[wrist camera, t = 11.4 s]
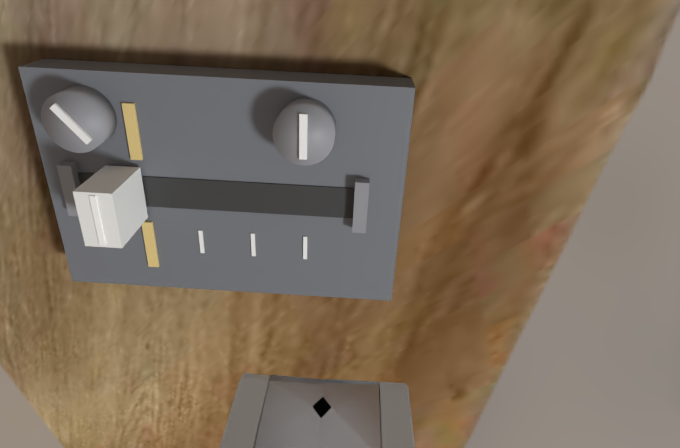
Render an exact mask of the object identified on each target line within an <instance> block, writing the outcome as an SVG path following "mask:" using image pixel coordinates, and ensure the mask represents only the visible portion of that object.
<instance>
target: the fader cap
mask: <svg viewBox="0 0 680 448" xmlns="http://www.w3.org/2000/svg"><path fill="white" fill-rule="evenodd" d="M73 196H74V200H75V204H76V208H77V213H78V217H79V221H80V226H81V230H82V234H83V239H84V243H85V246H92V247H109V248H123V247H124V246H125V244H126V243H127V242H128V241H129V240H130V238H131V237H132V236H133V235H134V234H135V232H136V231H137V230H138V229H139V228H140V226H141V225H142V224H143V223H144V222H145V220H146V219H147V218H148V214H147V207H146V201H145V195H144V188H143V182H142V175H141V169H140V167H127V166H109V165H105V166H104V167H103V168H101V169H100V170H99V171H98V172H96V173H95V174H94V175H93V176H91V177H90V178H89V179H88V180H86V181H85V182H84V183H83V184H81V185H80V186H79V187H78V188H76V189H75V190H74V191H73Z"/></svg>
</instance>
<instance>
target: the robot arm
mask: <svg viewBox="0 0 680 448" xmlns="http://www.w3.org/2000/svg"><path fill="white" fill-rule="evenodd" d="M220 448H415V446H414V437H413V427H412V418H411V408H410V399H409V390H408V386H407V385H406V383H390V382H379V383H378V382H371V381H352V380H333V379H325V380H324V379H312V378H301V377H289V376H278V375H260V374H249V373H244V374H243V376H242V377H241V379H240V381H239V384H238V388H237V391H236V395H235V398H234V401H233V405H232V408H231V411H230V415H229V418H228V421H227V425H226V428H225V432H224V435H223V438H222V442H221V445H220Z"/></svg>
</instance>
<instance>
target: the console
mask: <svg viewBox="0 0 680 448" xmlns="http://www.w3.org/2000/svg"><path fill="white" fill-rule="evenodd" d="M18 69H19V72H20V76H21V80H22V84H23V88H24V92H25V96H26V100H27V104H28V108H29V112H30V116H31V120H32V123H33V127H34V131H35V135H36V139H37V143H38V147H39V151H40V155H41V159H42V163H43V167H44V170H45V174H46V178H47V182H48V186H49V190H50V194H51V198H52V202H53V206H54V210H55V214H56V218H57V221H58V225H59V229H60V233H61V237H62V241H63V245H64V249H65V253H66V257H67V261H68V265H69V269H70V272H71V276H72V280H73V281H80V282H96V283H113V284H129V285H145V286H162V287H178V288H195V289H211V290H227V291H244V292H260V293H276V294H293V295H309V296H325V297H342V298H358V299H374V300H391V298H392V289H393V280H394V272H395V263H396V254H397V245H398V236H399V228H400V219H401V210H402V201H403V192H404V183H405V175H406V166H407V157H408V148H409V139H410V130H411V122H412V113H413V104H414V95H415V86H414V83H413V81H412V78H402V77H384V76H365V75H346V74H327V73H308V72H289V71H270V70H252V69H233V68H214V67H195V66H176V65H157V64H139V63H120V62H101V61H82V60H63V59H41V60H38V61H34V62H31V63H28V64H25V65H22V66H19V67H18ZM105 165H109V166H127V167H140V169H141V175H142V182H143V188H144V195H145V201H146V207H147V214H148V218H147V219H146V220H145V222H144V223H143V224H142V225H141V226H140V228H139V229H138V230H137V231H136V232H135V234H134V235H133V236H132V237H131V238H130V240H129V241H128V242H127V243H126V244H125V246H124V247H123V248H109V247H92V246H85V243H84V239H83V234H82V230H81V226H80V221H79V217H78V213H77V208H76V204H75V200H74V196H73V191H74V190H75V189H76V188H78V187H79V186H80V185H81V184H83V183H84V182H85V181H86V180H88V179H89V178H90V177H91V176H93V175H94V174H95V173H96V172H98V171H99V170H100V169H101V168H103V167H104V166H105Z"/></svg>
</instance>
